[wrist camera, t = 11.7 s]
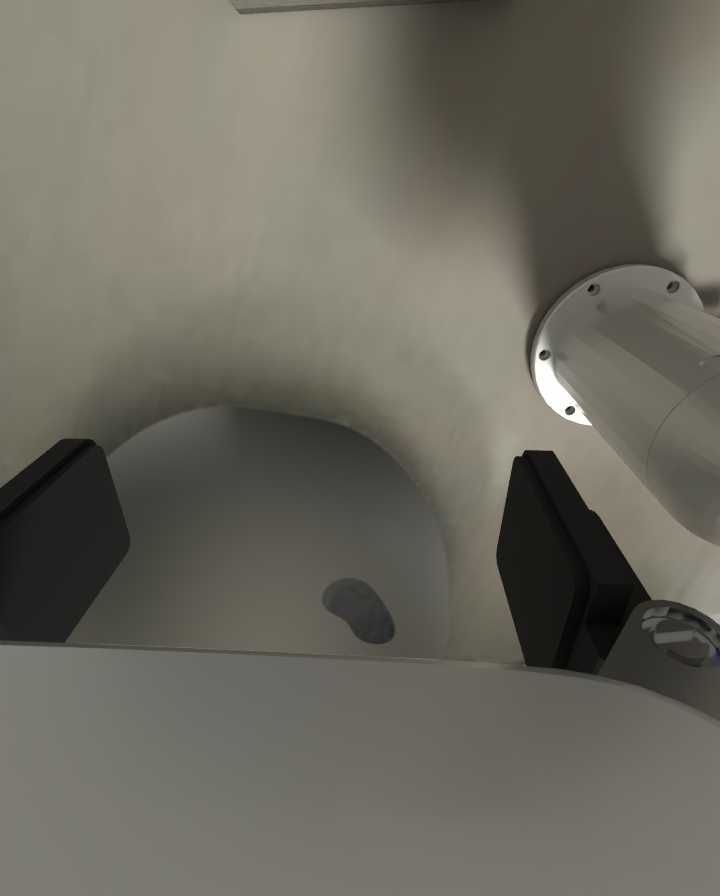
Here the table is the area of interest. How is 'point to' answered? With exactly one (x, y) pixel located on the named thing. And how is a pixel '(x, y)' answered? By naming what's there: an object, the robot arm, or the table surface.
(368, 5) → the grey holder tray
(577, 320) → the robot arm
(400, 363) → the table surface
